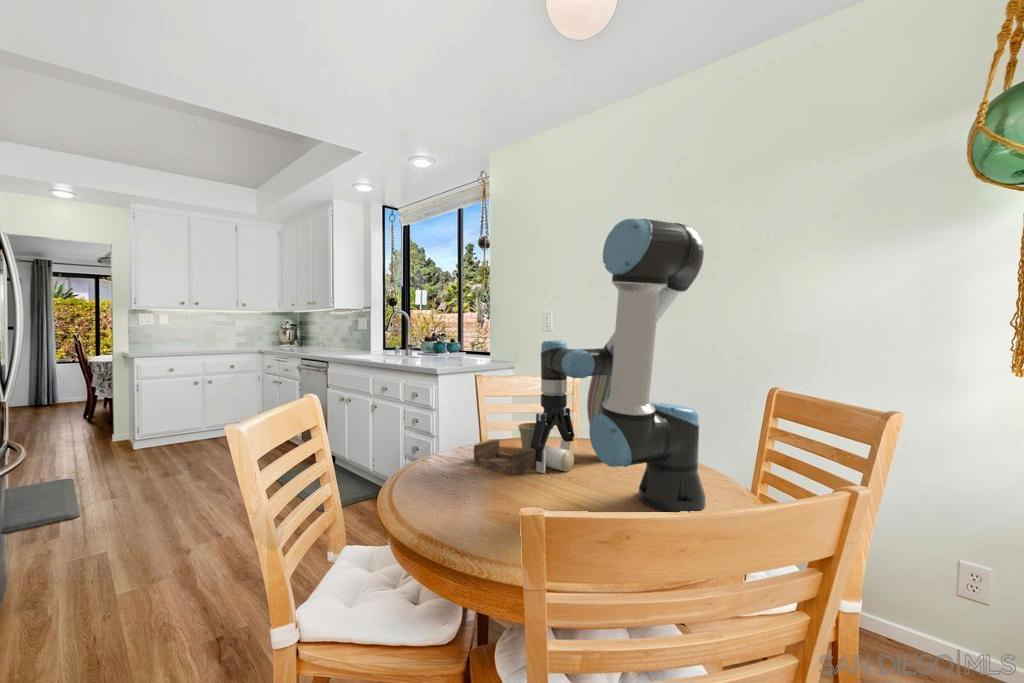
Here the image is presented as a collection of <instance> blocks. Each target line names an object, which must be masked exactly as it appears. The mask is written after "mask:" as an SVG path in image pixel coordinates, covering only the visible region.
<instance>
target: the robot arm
mask: <svg viewBox="0 0 1024 683" xmlns="http://www.w3.org/2000/svg"><path fill="white" fill-rule="evenodd" d="M704 253H705V252H704V244H703V242H702V239H701V237H700V235H699V234H698V233H697V231H696V230H695V229H693V228H692V227H690V226H688V225H687V224H683V223H679V222H668V221H662V220H661V221H660V220H655V219H654V220H653V219H648V218H626V219H623V220H621V221H619V222H617V224H615V225H614V226H613V227H612V229H611V230H610V231H609V233H608V235H607V237H606V239H605V242H604V245H603V250H602V261H603V264H604V267H605V270H606V271H607V272H608V273H610V274H611V275H612V279H611V283H612V285H613V286H614V287H615V288H616V289H617V291H618V293H617V304H616V305H617V306H616V315H615V316H616V317H615V326H614V327H615V330H614V332H613V334H612V335H611V336H610V338H609V340H608V341H607V342H606V343H605V345H604V347H603V348H602V347H601V348H578V349H577V348H568V344H567V342H566V341H565V340H544V341H542V343H541V349H540V350H541V351H540V379H541V380H540V384H541V386H540V391H541V395H540V407H542V408H543V412H542V413H536V415H535V423H536V424H535V429H534V433H533V437H532V442H531V446H530V447H531V448H533V449H535V450H536V468H535V469H536V470H535V472H538V473H542V474H546V468H547V467H546V450H543V449H544V447H545V445H547V444H546V443H547V442H548V441H547V440H548V439H549V436H550V433H551V430H553V428H554V427H555V426H556V428H557V430H558V432H559V434H560V436H561V439H562V440H560V449H565V450H569V451H571V448H570V447H571V446H570V444H571V442H573V441H574V438H575V432H574V428H573V423H572V418H571V409H570V408H569V407H567V406H568V405H567V403H568V402H567V398H568V397H567V396H568V395H567V394H566V393H567V392H568V382H567V381H568V379H567V378H568V377H570V378H573V379H586V378H588V377H592V376H597V375H611V387H610V396H609V398H607V399H606V400H605V401H604V402H603V403H602V413H601V414H599V415H597V416H595V417H594V418H593V420H592V421H591V423H590V425H589V431H588V432H589V440H590V443H591V447H592V449H593V451H594V453H595V455H596V456H597V458H598V459H599V461H600V462H601V461H602V462H601V463H603V464H604V465H606V466H609V467H610V468H611V467H612V468H617V467H624V468H626V467H627V468H628V467H629V466H633V465H635V466H636V465H640V464H646V466H645V469H644V471H643V472H644V473H643V475H642V478H641V480H640V484H639V486H638V499H639V501H640V502H641V503H643V504H644V505H646V506H648V505H649V506H648V507H650V508H653V509H655V508H656V510H659V511H663V512H669V513H670V512H671V513H678V512H680V511H695V512H698V511H697V510H699V511H701V510H703V509H704V508H705V507H704V505H705V506H706V493H705V490H704V487H703V484H702V481H701V477H700V474H699V442H700V440H699V439H700V438H699V435H700V424H699V414H698V412H697V410H695V408H694V409H693V408H691V407H688V406H684V405H677V404H673V403H672V404H671V403H663V402H651V401H650V395H651V384H652V373H653V362H654V352H655V341H656V330H657V323H658V322H659V320H660V319H661V318H662V316H663V315H664V314H665V313H666V311H667V310H668V309H669V307H670V306H671V305H672V303H673V302H674V300H676V298H677V296H678V295H679V294H680V293H684V292H686V291H688V289H689V288H690V287H691V286H692V284H693V283H694V281H695V280H696V279H697V277H698V275H699V273H700V271H701V269H702V265H703V260H704V255H705V254H704ZM540 445H541V446H540Z"/></svg>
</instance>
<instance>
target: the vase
mask: <svg viewBox="0 0 1024 683" xmlns="http://www.w3.org/2000/svg"><path fill="white" fill-rule="evenodd" d="M610 387H611V375H597V376H591V379H590V383H589V388H588V394H587V399H586V400H587V401H586V402H587V403H586V408H587V410H586V411H587V418H588V425H589V426H590V423H591V421H592V420H593V418H594V417H595V416H597V415H599V414H601V413H602V403H603V402H604V401H605V400H606V399H607V398H609V396H610ZM600 462H601V463H603V462H602V461H601V460H600Z"/></svg>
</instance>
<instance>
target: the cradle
mask: <svg viewBox="0 0 1024 683" xmlns="http://www.w3.org/2000/svg"><path fill="white" fill-rule="evenodd" d="M473 465H474V466H476V467H477V466H478V467H481V468H485V469H489V470H492V471H495V472H499V473H503V474H506V475H510V476H513V477H516V476H518V475H521V474H524V473H526V472H528V471H531V470H534V469H536V450H535V449H533V448H530V449H527V450H524V451H523V450H521V451H518V452H515V453H512V454H509V453H504V452H500V439H498V438H497V439H492V440H489V441H484V442H482V443H478V444H474V445H473Z"/></svg>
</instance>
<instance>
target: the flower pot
mask: <svg viewBox="0 0 1024 683" xmlns="http://www.w3.org/2000/svg"><path fill="white" fill-rule="evenodd" d="M535 424H536V422H524V423H523V422H522V423H519V424H517V428H518V429H519V430H518V431H519V432H520V439H521V440H520V441H521V446H522V447H521V449H522V451H524V450H527V449H530V448H531V447H530V446H531V442H532V437H533V433H534V429H535Z"/></svg>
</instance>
